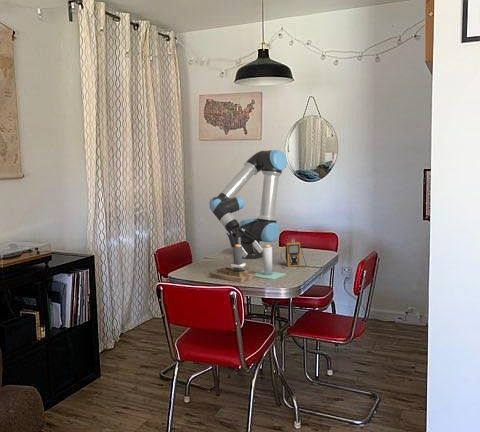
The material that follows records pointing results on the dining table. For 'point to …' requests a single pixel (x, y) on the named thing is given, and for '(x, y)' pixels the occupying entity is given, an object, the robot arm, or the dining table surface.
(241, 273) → the clamp board
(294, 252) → the multimeter
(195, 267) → the dining table surface
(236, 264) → the grey flanged cylinder
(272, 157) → the robot arm
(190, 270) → the dining table surface
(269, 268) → the white tall cylinder
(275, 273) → the green pad
